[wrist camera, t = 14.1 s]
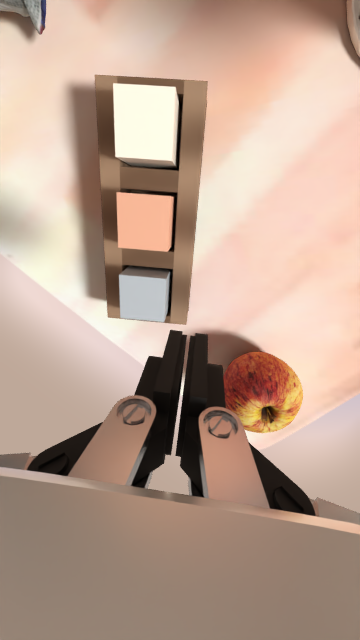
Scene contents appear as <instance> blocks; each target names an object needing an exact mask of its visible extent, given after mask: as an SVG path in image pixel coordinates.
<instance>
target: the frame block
mask: <svg viewBox="0 0 360 640" xmlns="http://www.w3.org/2000/svg"><path fill="white" fill-rule="evenodd" d="M207 82H208V81H195V80H178V79H161V78H143V77H126V76H108V75H95V89H96V108H97V126H98V145H99V163H100V182H101V200H102V219H103V237H104V256H105V274H106V293H107V311H108V317H109V318H119V319H125V318H120V289H119V274H121V273H122V272H123V271H124V270H125V269H126V268H127V267H129V266H130V265H133V266H145V267H157V268H168V269H172V272H171V290H170V305H169V308H168V312H167V315H166V318H165V321H164V322H162V323H173V324H183V325H186V322H187V314H188V308H189V297H190V286H191V275H192V264H193V252H194V241H195V230H196V219H197V207H198V196H199V185H200V174H201V163H202V151H203V140H204V129H205V118H206V107H207ZM113 83H117V84H135V85H152V86H169V87H176V92H177V96H178V101H179V106H180V128H179V146H178V164H177V169H172V168H158V167H144V166H131V165H129V164H127V163H125V162H124V161H122V160H120V159H118V158H116V157H115V129H114V97H113ZM116 192H121V193H134V194H148V195H161V196H171V197H175V198H176V200H175V218H174V236H173V245H172V246H171V248H170V249H169V251H168V252H164V251H152V250H140V249H128V248H118V225H117V193H116ZM130 320H135V319H130ZM141 321H146V320H141ZM151 322H157V321H151Z"/></svg>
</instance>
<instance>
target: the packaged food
mask: <svg viewBox="0 0 360 640" xmlns="http://www.w3.org/2000/svg"><path fill="white" fill-rule="evenodd" d="M0 11H12V12H16V13H18V14H21V15H22V16H24V17H28V16H30V18H31V20H32V22H33V24H34V26H35V28H36V30H37V31H38V33H39V34H40V35H41V34H42V32H43V30H44V29H45V17H46V0H0Z"/></svg>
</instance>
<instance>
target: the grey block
mask: <svg viewBox="0 0 360 640" xmlns="http://www.w3.org/2000/svg"><path fill="white" fill-rule="evenodd" d="M171 272H172V269H168V268H157V267H145V266H133V265H130V266H129V267H127V268H126V269H125V270H124V271H123V272H122V273H121V274H119V289H120V318H125V319H135V320H146V321H157V322H164V321H165V318H166V315H167V312H168V308H169V305H170V290H171Z"/></svg>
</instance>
